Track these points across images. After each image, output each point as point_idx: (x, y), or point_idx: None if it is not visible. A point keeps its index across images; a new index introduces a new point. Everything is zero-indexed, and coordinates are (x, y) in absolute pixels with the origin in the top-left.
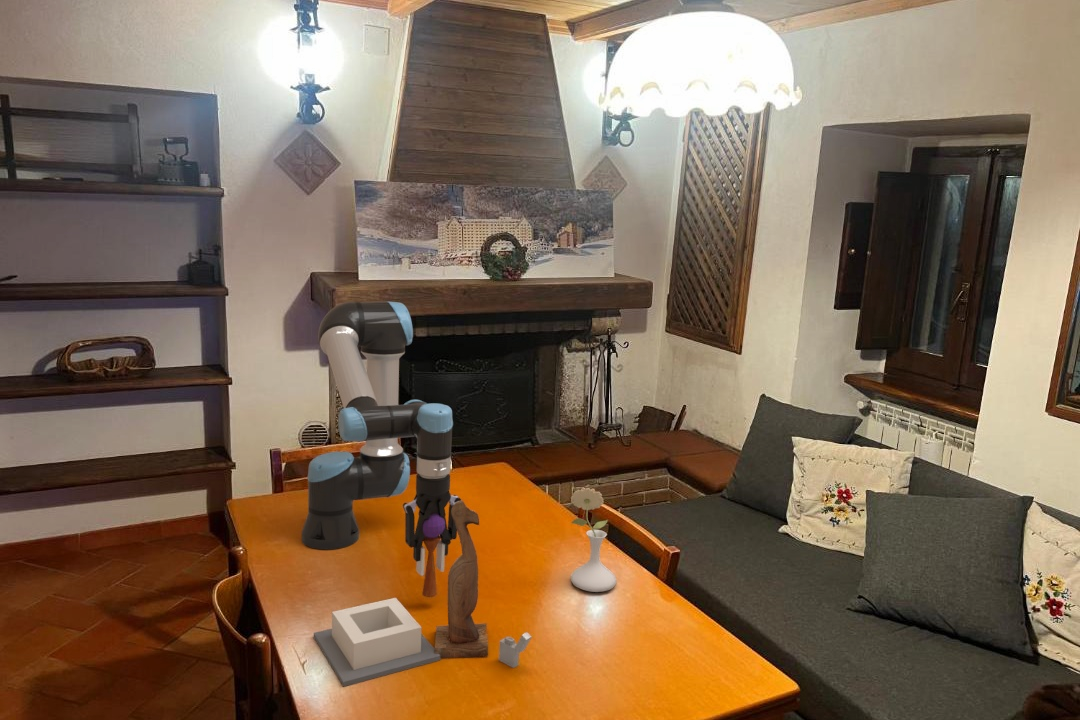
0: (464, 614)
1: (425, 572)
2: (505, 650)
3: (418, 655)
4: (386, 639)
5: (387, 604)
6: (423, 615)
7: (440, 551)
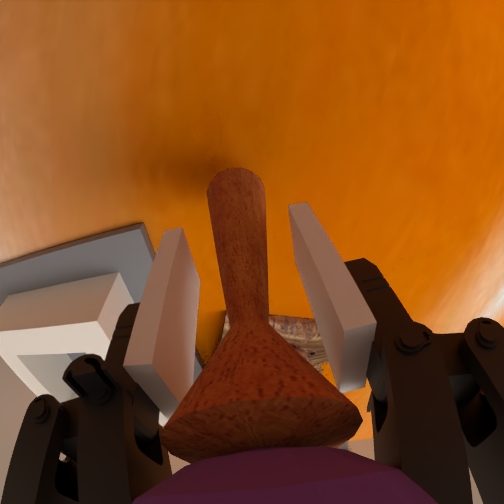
0: None
1: (214, 239)
2: None
3: None
4: None
5: (81, 346)
6: (205, 230)
7: (323, 332)
